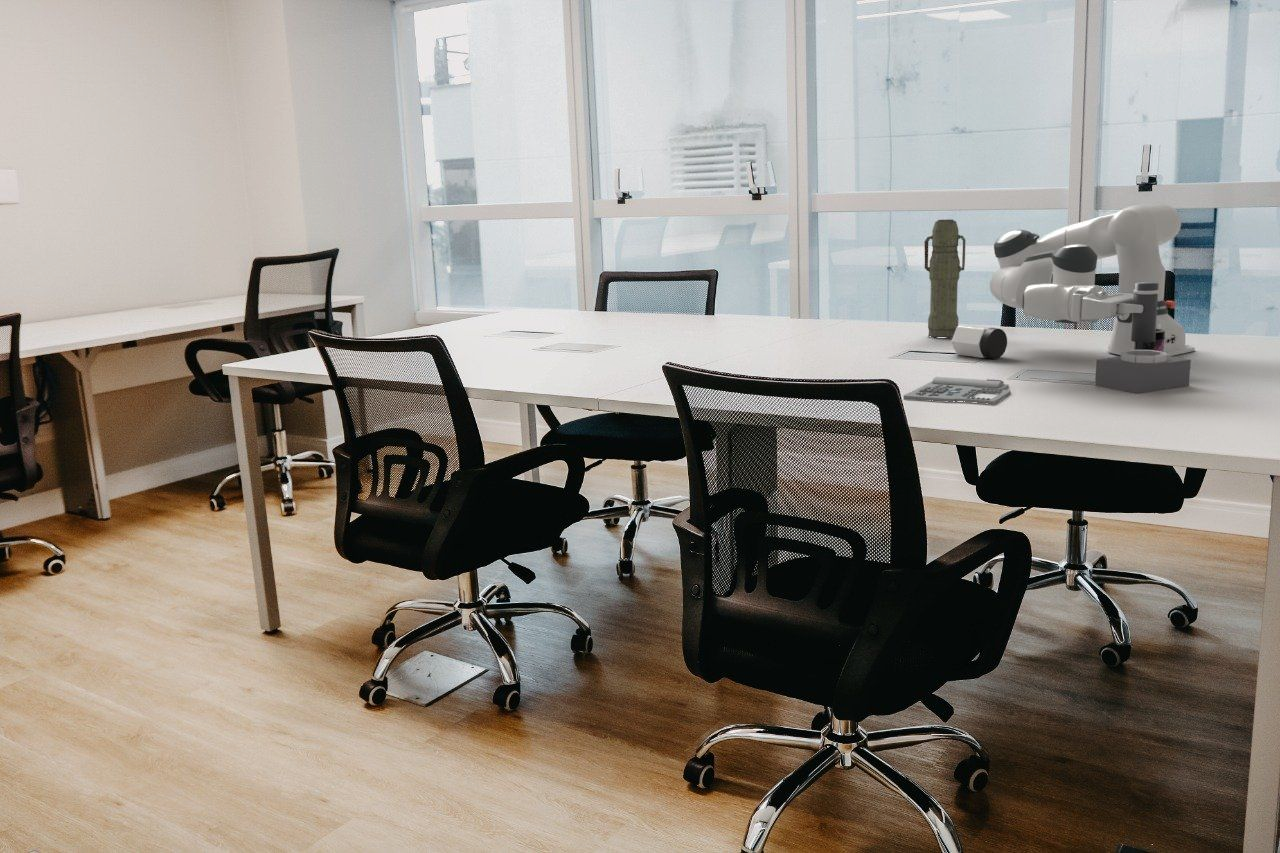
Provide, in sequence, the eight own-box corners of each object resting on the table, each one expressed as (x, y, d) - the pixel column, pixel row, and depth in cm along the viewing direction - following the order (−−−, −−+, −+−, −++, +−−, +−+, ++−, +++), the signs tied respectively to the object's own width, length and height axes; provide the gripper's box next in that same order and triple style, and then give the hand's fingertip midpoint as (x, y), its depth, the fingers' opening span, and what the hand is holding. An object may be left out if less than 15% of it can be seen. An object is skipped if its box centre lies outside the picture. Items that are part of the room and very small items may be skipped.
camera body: (1145, 377, 260) (1147, 346, 258) (1188, 385, 249) (1191, 352, 247) (1095, 385, 254) (1096, 353, 252) (1137, 393, 243) (1139, 360, 241)
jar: (950, 356, 300) (985, 361, 290) (951, 326, 298) (986, 330, 288) (972, 352, 304) (1008, 357, 294) (973, 323, 302) (1009, 327, 293)
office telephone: (935, 373, 265) (1020, 378, 255) (935, 384, 266) (1019, 389, 255) (903, 389, 246) (993, 396, 235) (903, 401, 247) (993, 407, 236)
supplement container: (1134, 375, 263) (1136, 332, 261) (1130, 370, 269) (1132, 328, 267) (1164, 376, 261) (1167, 332, 259) (1160, 371, 267) (1163, 328, 265)
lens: (1142, 338, 252) (1145, 281, 250) (1160, 341, 248) (1164, 282, 245) (1125, 340, 250) (1128, 282, 248) (1143, 343, 246) (1147, 284, 243)
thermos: (922, 334, 340) (925, 219, 332) (962, 334, 337) (965, 218, 329) (922, 338, 332) (924, 221, 324) (963, 338, 329) (966, 220, 321)
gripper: (1107, 312, 264) (1166, 316, 254) (1068, 322, 251) (1129, 326, 241) (1109, 286, 263) (1168, 288, 253) (1070, 294, 249) (1131, 297, 239)
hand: (1149, 307), depth 247 cm, fingers closed on lens, 5 cm apart
